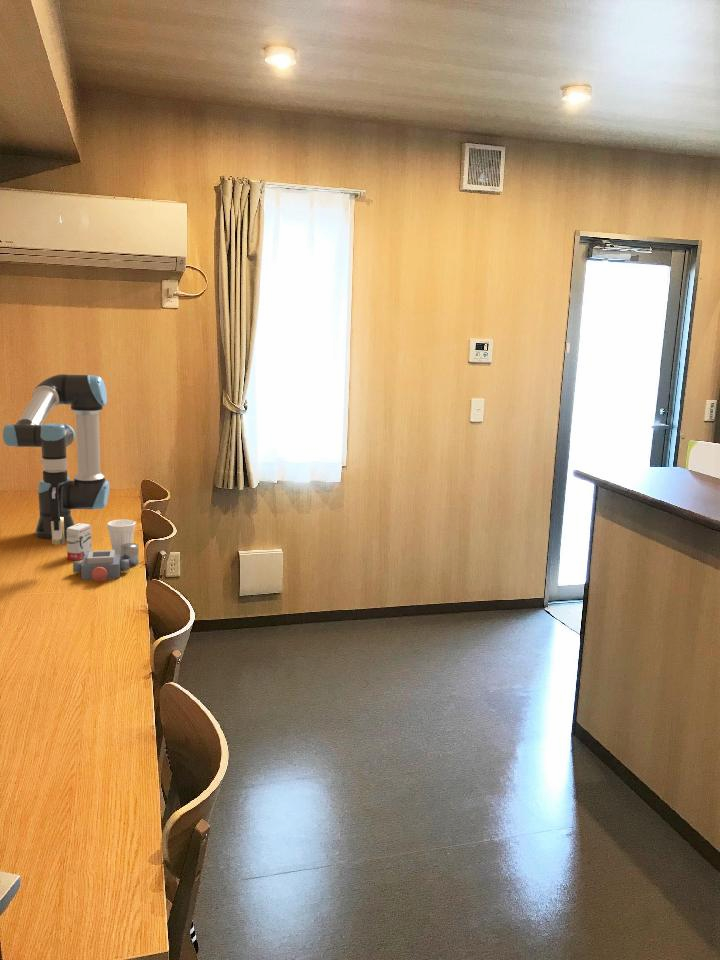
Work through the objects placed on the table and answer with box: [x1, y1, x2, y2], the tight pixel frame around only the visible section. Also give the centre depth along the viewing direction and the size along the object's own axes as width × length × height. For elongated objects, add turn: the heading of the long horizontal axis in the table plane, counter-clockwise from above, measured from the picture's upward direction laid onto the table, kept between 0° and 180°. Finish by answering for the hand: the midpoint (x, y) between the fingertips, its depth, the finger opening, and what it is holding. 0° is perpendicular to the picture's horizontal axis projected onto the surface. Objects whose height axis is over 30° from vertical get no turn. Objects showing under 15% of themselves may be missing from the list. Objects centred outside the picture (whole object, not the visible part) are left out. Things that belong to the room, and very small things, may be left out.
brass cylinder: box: [51, 516, 66, 546], centre depth 241 cm, size 4×4×9 cm
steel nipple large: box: [121, 542, 140, 568], centre depth 255 cm, size 6×6×7 cm
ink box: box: [66, 522, 93, 561], centre depth 260 cm, size 9×5×12 cm, turn 168°
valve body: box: [72, 549, 130, 582], centre depth 242 cm, size 16×18×7 cm
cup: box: [106, 519, 136, 554], centre depth 262 cm, size 10×10×13 cm
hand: (58, 536), depth 242 cm, fingers closed on brass cylinder, 4 cm apart
